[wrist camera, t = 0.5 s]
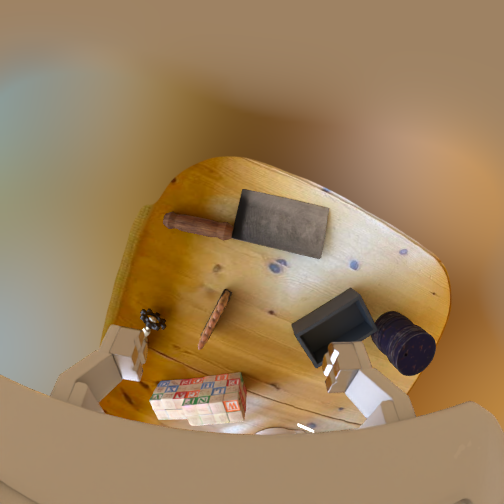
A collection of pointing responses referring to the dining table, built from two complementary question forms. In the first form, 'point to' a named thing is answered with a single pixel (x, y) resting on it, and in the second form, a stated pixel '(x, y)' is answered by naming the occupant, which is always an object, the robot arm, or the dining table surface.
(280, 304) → the dining table surface
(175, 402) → the stack of blocks
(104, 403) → the dining table surface
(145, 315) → the valve
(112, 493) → the robot arm
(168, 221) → the meat cleaver
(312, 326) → the bin
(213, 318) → the ammunition clip
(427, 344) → the dark blue cylinder
